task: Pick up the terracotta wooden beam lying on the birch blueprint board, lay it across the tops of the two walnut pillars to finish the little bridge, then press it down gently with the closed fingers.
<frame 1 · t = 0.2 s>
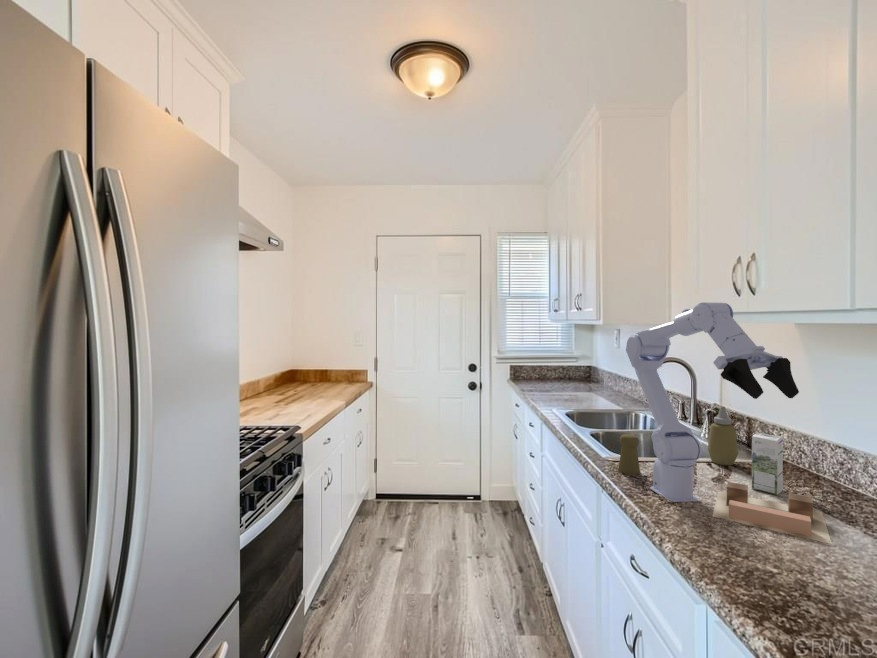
hand: (776, 395, 80), 31 cm above the countertop, tool tilted 45°, fingers open, 7 cm apart
squeeze bottle: (722, 463, 134), on the countertop
beam: (767, 523, 92), point 1 cm above the countertop, touching blueprint board
blueprint board: (767, 516, 97), on the countertop
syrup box: (767, 490, 113), on the countertop
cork: (629, 472, 127), on the countertop
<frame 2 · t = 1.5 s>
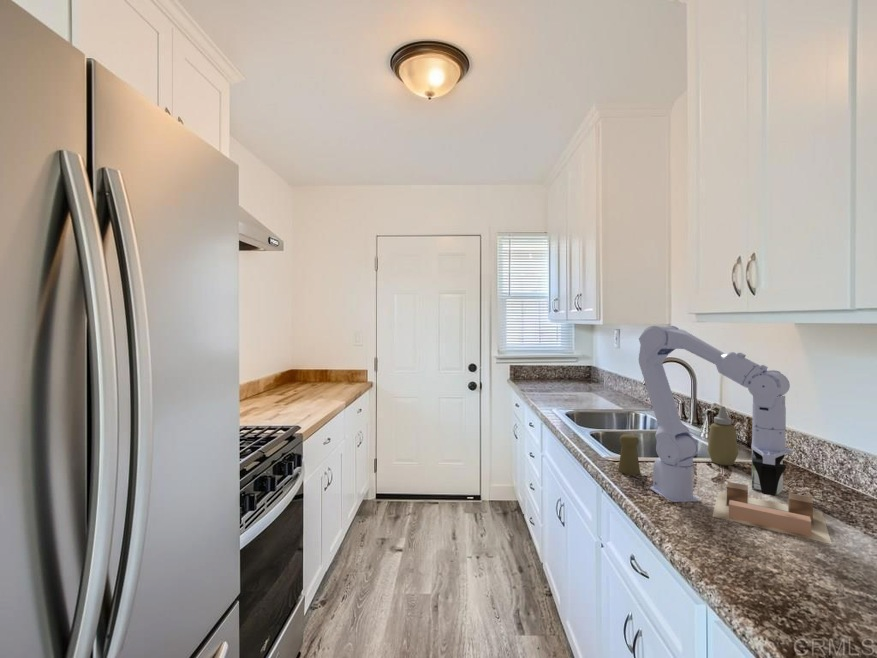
hand: (768, 488, 92), 8 cm above the countertop, tool pointing down, fingers open, 7 cm apart
nothing on the countertop moved.
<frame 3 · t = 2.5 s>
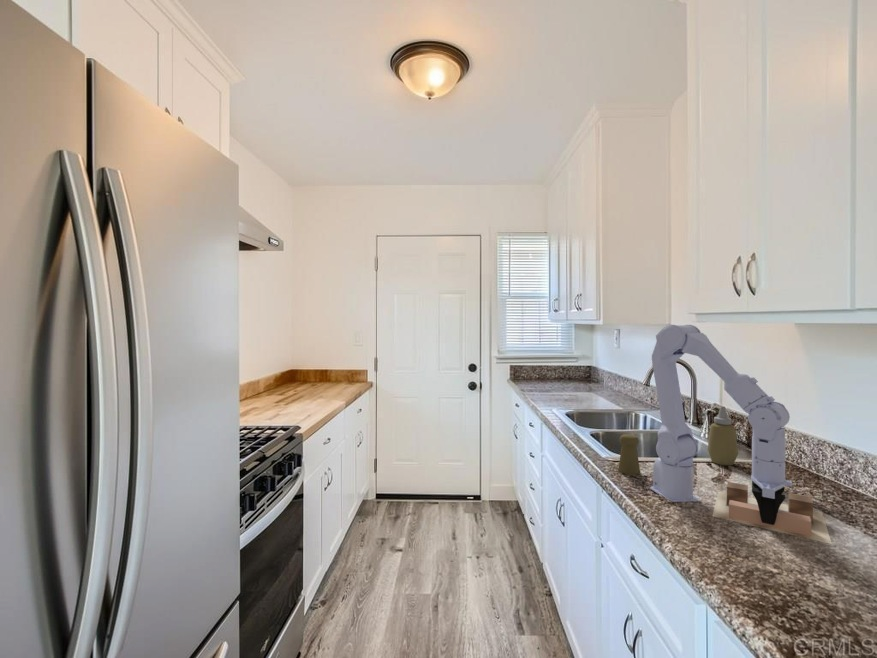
hand: (767, 520, 92), 1 cm above the countertop, tool pointing down, fingers closed on beam, 3 cm apart
beam: (767, 523, 92), point 1 cm above the countertop, touching blueprint board, gripper
everything else where it was.
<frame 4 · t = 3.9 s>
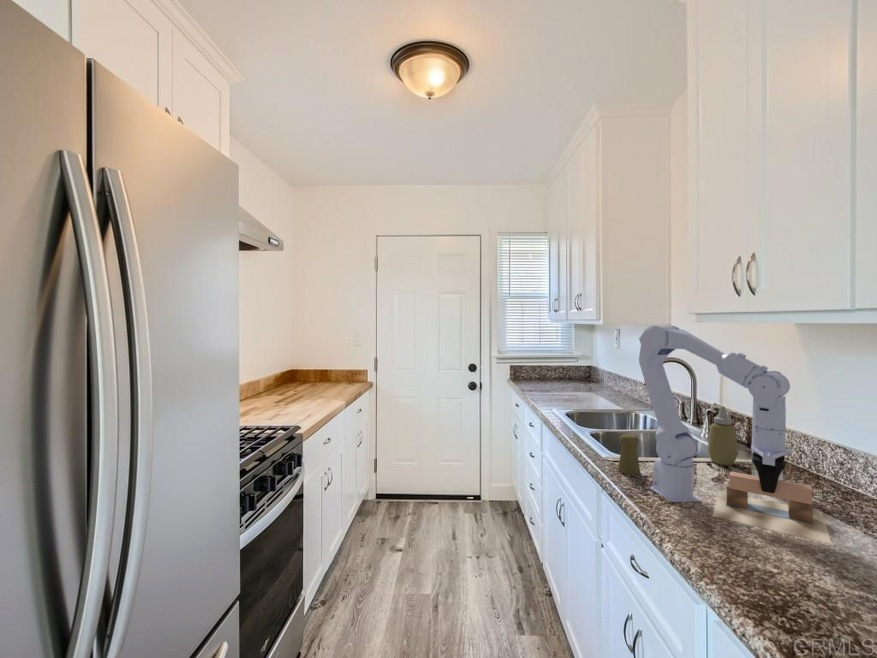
hand: (768, 489, 92), 8 cm above the countertop, tool pointing down, fingers closed on beam, 3 cm apart
beam: (768, 493, 92), point 7 cm above the countertop, touching gripper
everything else where it was.
when the fingers open (7 cm above the countertop, at t = 5.3 s): beam stays where it is, resting on blueprint board.
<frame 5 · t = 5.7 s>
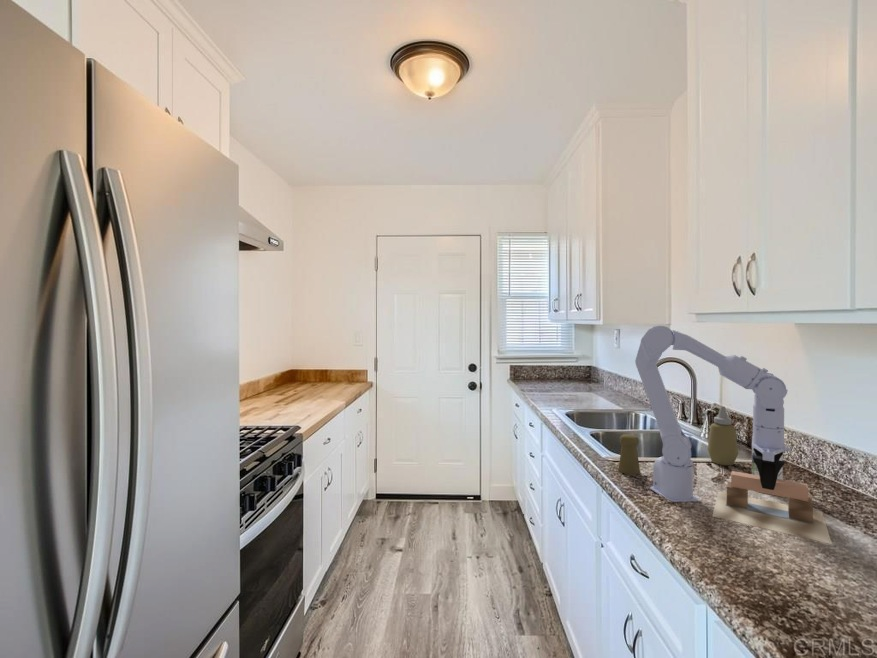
hand: (767, 484, 99), 7 cm above the countertop, tool pointing down, fingers open, 6 cm apart
beam: (767, 491, 99), point 5 cm above the countertop, touching blueprint board
everything else where it was.
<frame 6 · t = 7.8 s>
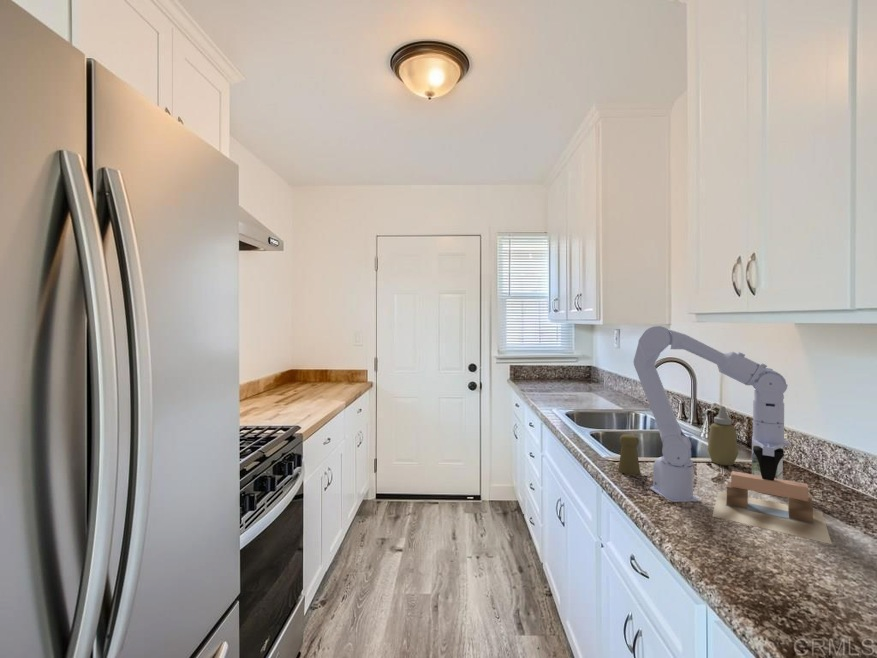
hand: (767, 479, 99), 8 cm above the countertop, tool pointing down, fingers closed, pressing on beam
beam: (767, 491, 99), point 5 cm above the countertop, touching blueprint board, gripper
everything else where it was.
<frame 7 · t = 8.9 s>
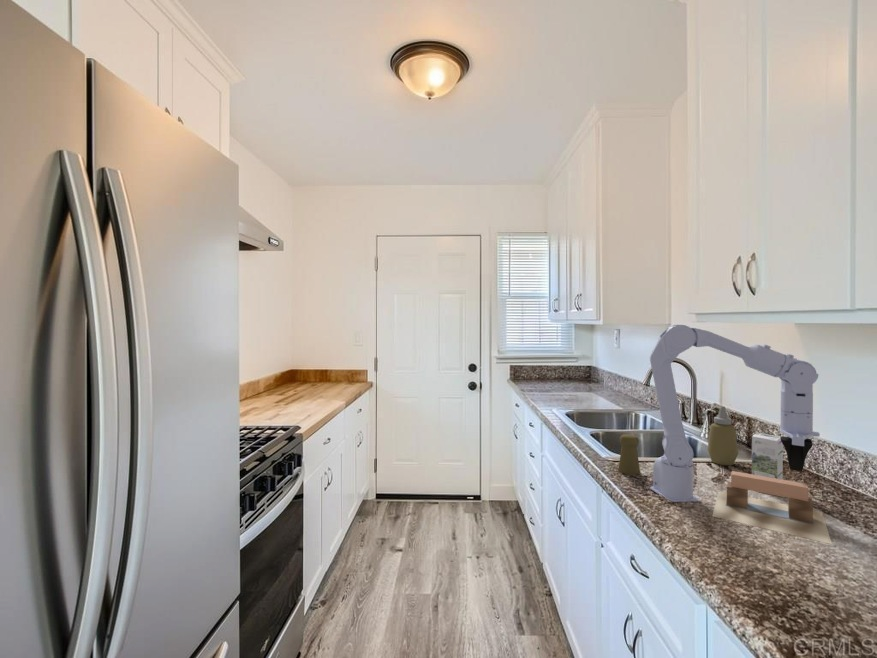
hand: (795, 469, 98), 10 cm above the countertop, tool pointing down, fingers closed
beam: (767, 491, 99), point 5 cm above the countertop, touching blueprint board
everything else where it was.
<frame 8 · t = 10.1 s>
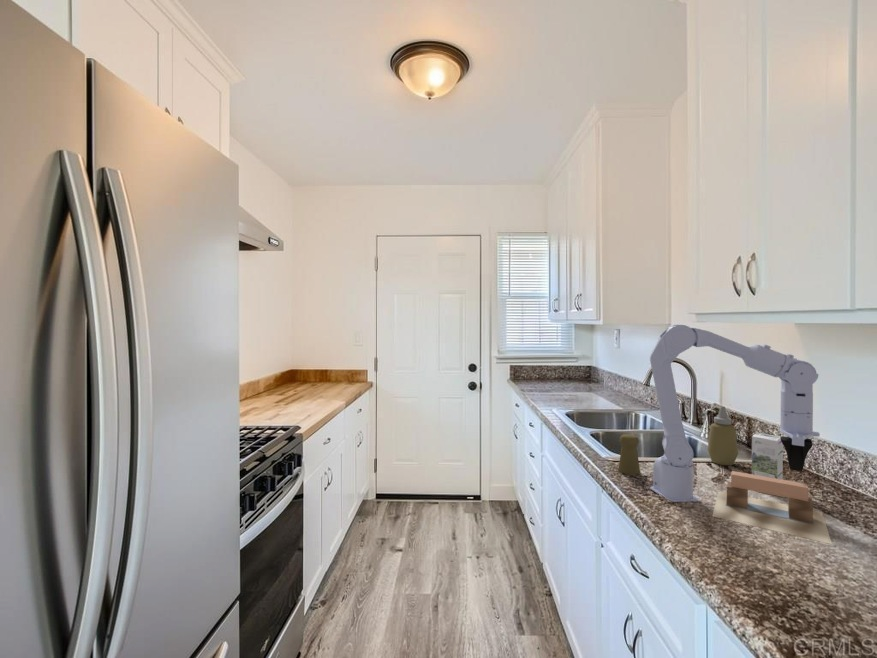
hand: (795, 469, 98), 10 cm above the countertop, tool pointing down, fingers closed
nothing on the countertop moved.
at the end: beam 0.1 cm from the target spot on the blueprint board, point 5.1 cm above the blueprint board's base; beam tilted 0°; the gripper is holding nothing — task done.
